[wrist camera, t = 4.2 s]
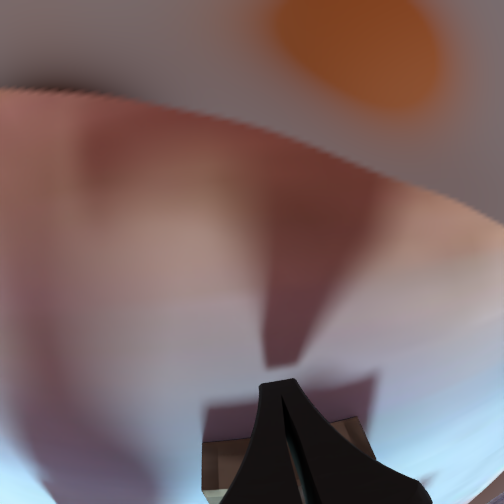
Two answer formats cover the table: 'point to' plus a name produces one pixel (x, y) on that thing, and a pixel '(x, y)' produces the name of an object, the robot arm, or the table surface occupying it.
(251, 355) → the table surface
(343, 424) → the walnut tray
